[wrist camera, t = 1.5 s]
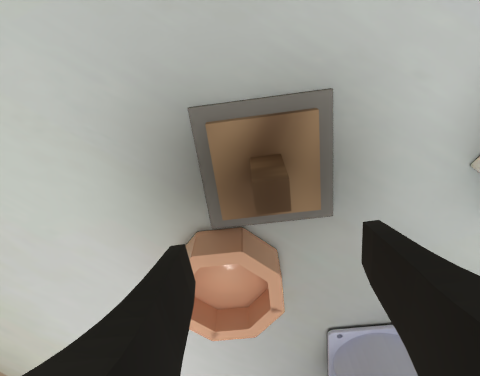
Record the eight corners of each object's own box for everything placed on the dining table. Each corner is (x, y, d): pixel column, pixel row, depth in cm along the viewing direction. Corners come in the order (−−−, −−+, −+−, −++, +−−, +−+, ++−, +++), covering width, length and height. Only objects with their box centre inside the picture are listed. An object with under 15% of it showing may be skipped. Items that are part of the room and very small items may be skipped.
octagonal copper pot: (274, 223, 23) (278, 247, 20) (282, 305, 27) (286, 334, 24) (165, 235, 24) (155, 260, 21) (187, 313, 27) (181, 343, 24)
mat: (331, 88, 19) (332, 89, 19) (332, 213, 23) (332, 216, 22) (188, 107, 19) (187, 108, 19) (212, 226, 23) (212, 228, 23)
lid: (316, 107, 19) (337, 125, 15) (318, 205, 22) (336, 243, 18) (206, 122, 19) (196, 143, 15) (223, 216, 22) (218, 255, 18)
